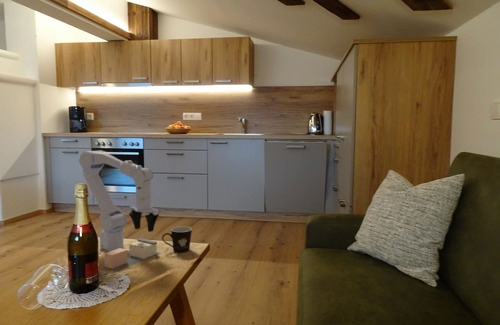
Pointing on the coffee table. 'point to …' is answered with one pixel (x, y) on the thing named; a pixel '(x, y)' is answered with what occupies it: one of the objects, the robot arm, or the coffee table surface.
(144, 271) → the coffee table surface
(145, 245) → the pad
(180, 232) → the coffee mug
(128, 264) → the mat
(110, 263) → the stub
